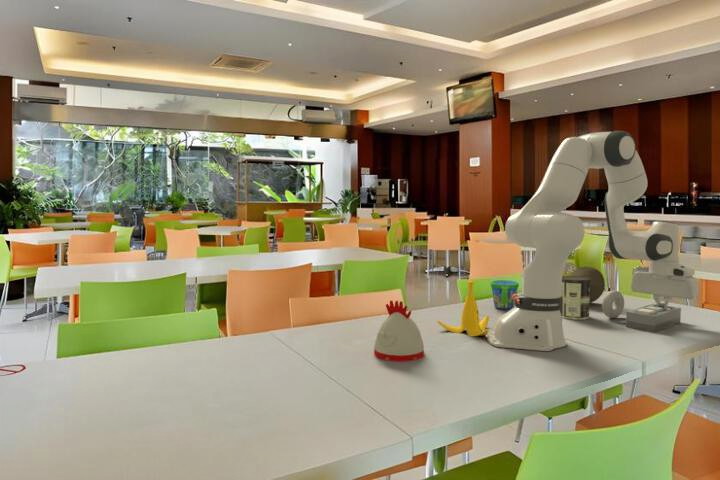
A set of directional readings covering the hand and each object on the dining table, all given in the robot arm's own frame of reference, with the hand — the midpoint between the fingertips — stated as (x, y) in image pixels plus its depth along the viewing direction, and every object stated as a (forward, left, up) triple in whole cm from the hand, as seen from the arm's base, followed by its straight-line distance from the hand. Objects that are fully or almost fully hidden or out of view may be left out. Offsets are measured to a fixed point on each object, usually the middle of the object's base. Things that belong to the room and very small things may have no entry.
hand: (662, 308), depth 180 cm
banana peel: (-68, -21, -5) cm, 71 cm away
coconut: (-18, +27, -5) cm, 33 cm away
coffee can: (-28, +4, -5) cm, 29 cm away
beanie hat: (-87, -48, -5) cm, 99 cm away
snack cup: (-51, +16, -5) cm, 54 cm away
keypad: (-4, -5, -5) cm, 8 cm away
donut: (-15, +3, -5) cm, 16 cm away
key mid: (-4, -5, -1) cm, 6 cm away
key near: (-9, -9, -1) cm, 12 cm away
